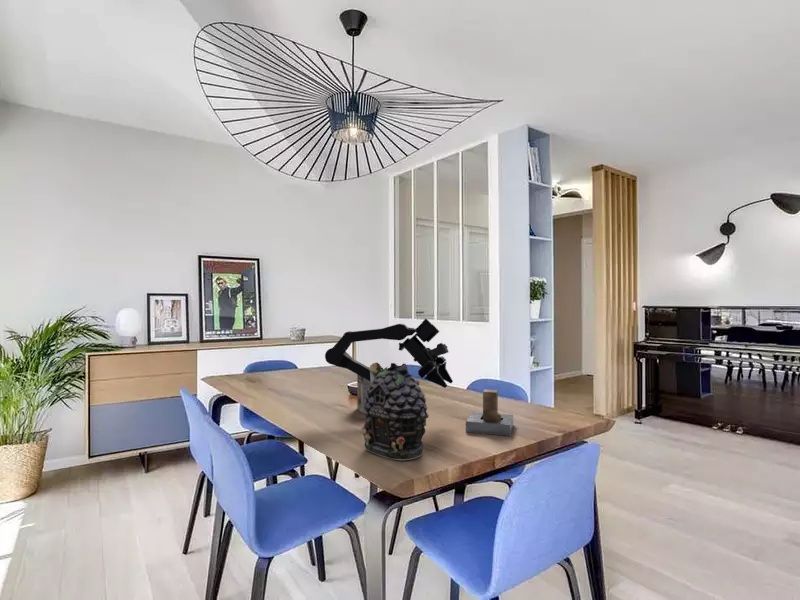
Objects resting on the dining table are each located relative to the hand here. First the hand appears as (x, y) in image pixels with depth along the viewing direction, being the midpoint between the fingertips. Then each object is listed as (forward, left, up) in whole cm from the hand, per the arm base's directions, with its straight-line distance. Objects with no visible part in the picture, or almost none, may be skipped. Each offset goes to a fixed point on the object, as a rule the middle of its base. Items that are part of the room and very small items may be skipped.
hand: (449, 384), depth 155 cm
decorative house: (-32, -16, -14) cm, 38 cm away
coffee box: (-15, +32, -14) cm, 38 cm away
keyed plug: (+8, -12, -13) cm, 20 cm away
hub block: (+8, -12, -13) cm, 20 cm away
